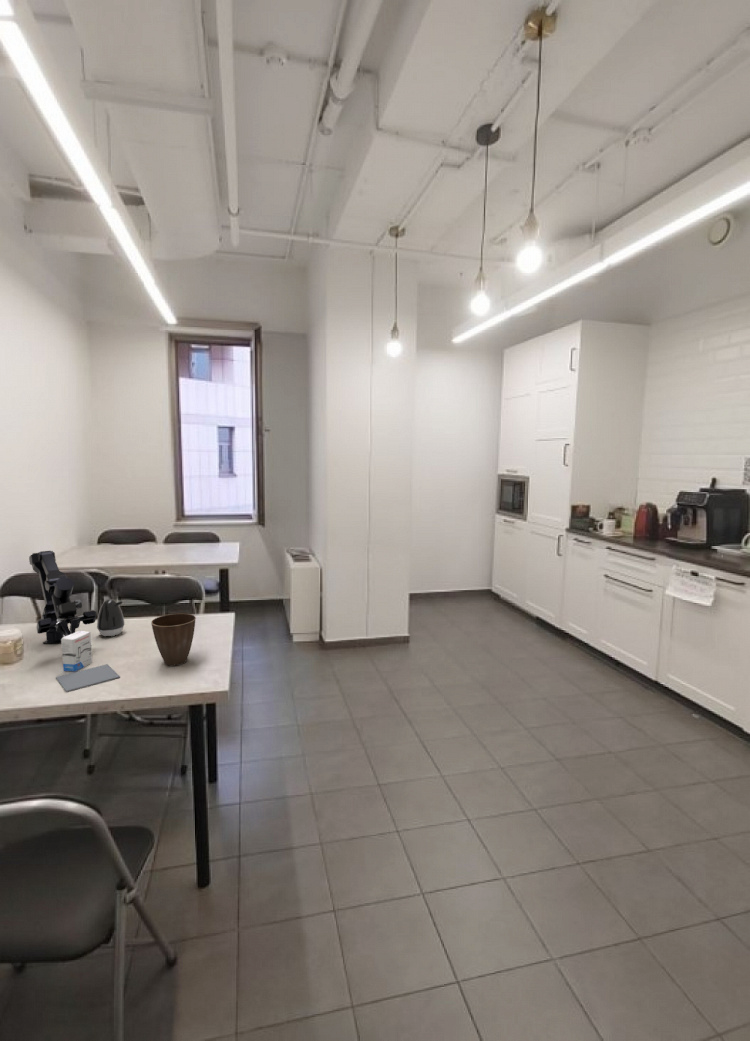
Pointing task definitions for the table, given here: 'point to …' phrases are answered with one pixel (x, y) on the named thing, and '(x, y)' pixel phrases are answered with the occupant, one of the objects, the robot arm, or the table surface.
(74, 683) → the mat
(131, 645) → the table surface
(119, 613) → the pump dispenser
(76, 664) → the ink box
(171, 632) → the plant pot
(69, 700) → the table surface
